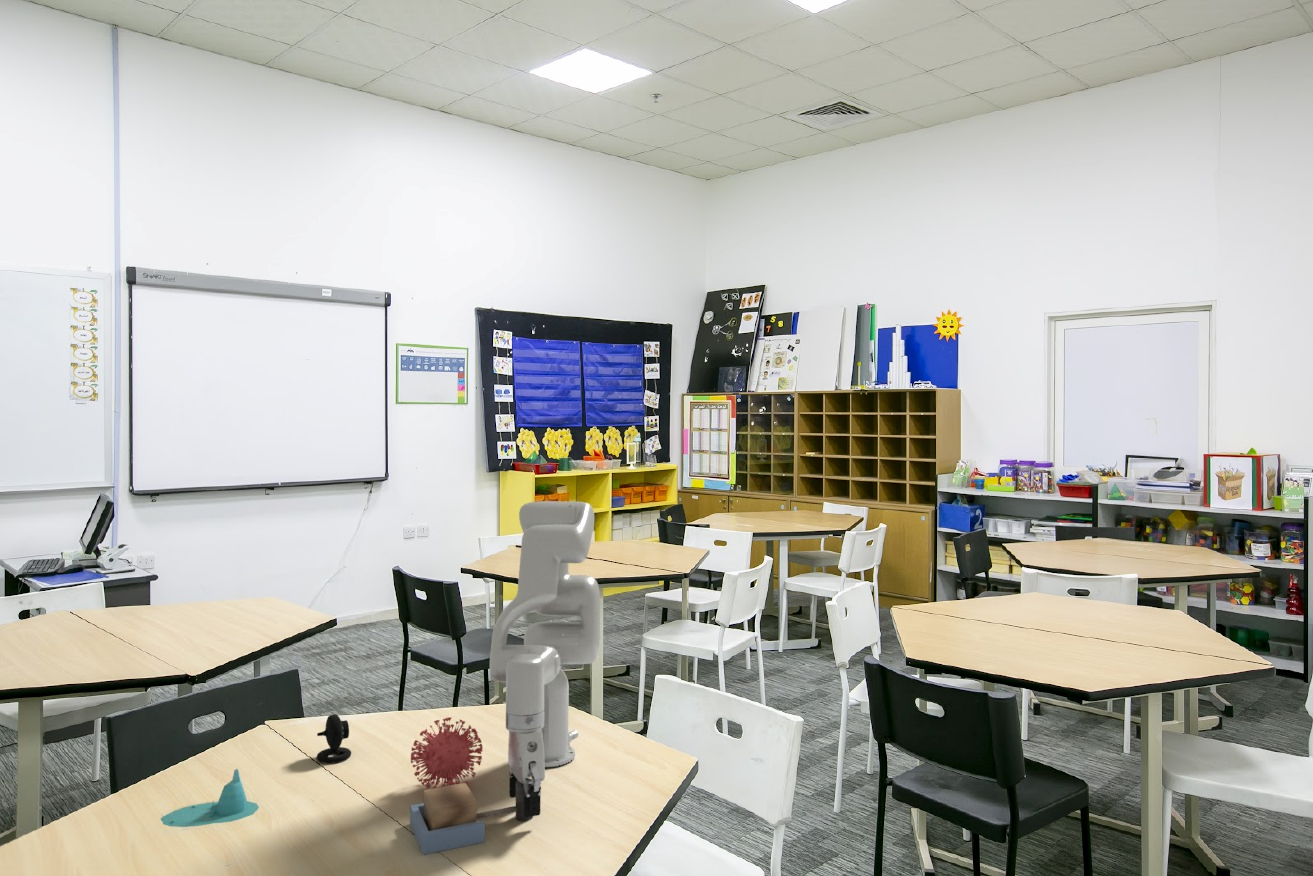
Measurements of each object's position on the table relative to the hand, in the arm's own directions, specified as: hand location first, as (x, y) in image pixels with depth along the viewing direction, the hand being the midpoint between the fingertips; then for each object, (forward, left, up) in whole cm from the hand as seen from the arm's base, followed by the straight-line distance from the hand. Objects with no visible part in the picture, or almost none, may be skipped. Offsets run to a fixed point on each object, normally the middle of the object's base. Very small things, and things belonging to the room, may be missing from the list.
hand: (524, 805), depth 166 cm
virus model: (-2, -23, -3) cm, 23 cm away
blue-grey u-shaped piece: (+12, -9, -2) cm, 15 cm away
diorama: (+30, -55, -3) cm, 63 cm away
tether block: (+7, -5, -2) cm, 9 cm away
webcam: (-2, -58, -3) cm, 58 cm away
